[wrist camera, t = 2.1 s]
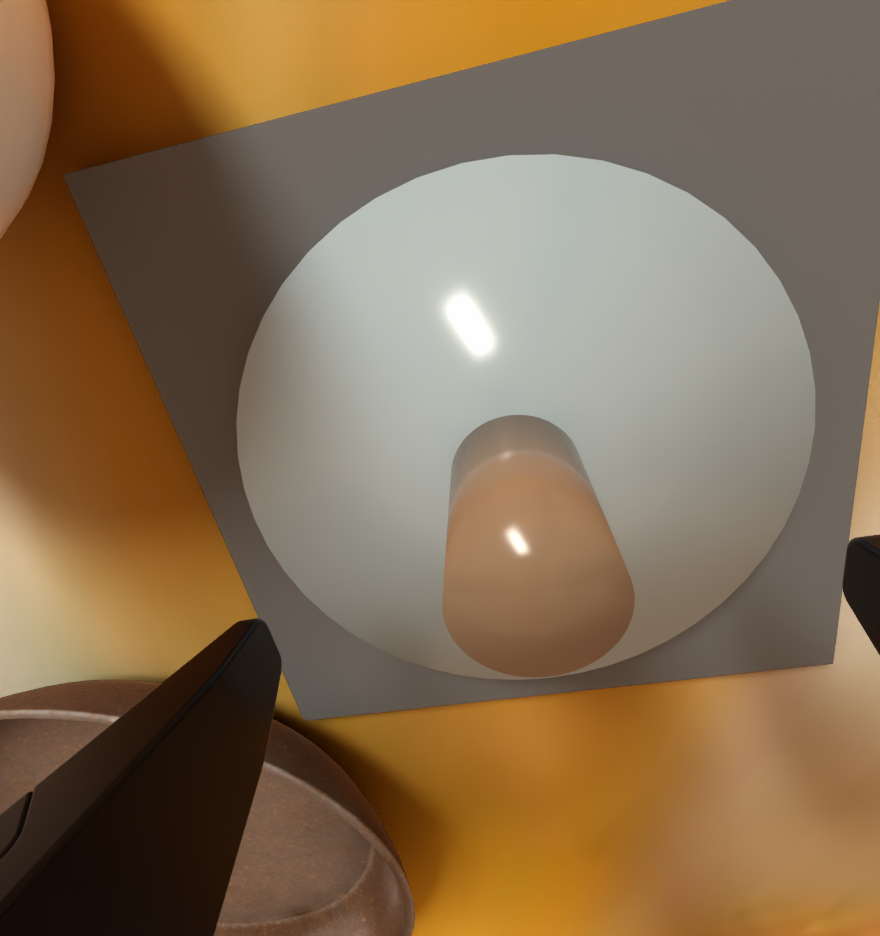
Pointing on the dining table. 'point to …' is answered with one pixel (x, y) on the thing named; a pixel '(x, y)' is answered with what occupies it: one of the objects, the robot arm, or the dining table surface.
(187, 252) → the mat
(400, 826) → the dining table surface
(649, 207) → the lid
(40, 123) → the lidded jar
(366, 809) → the plant saucer
